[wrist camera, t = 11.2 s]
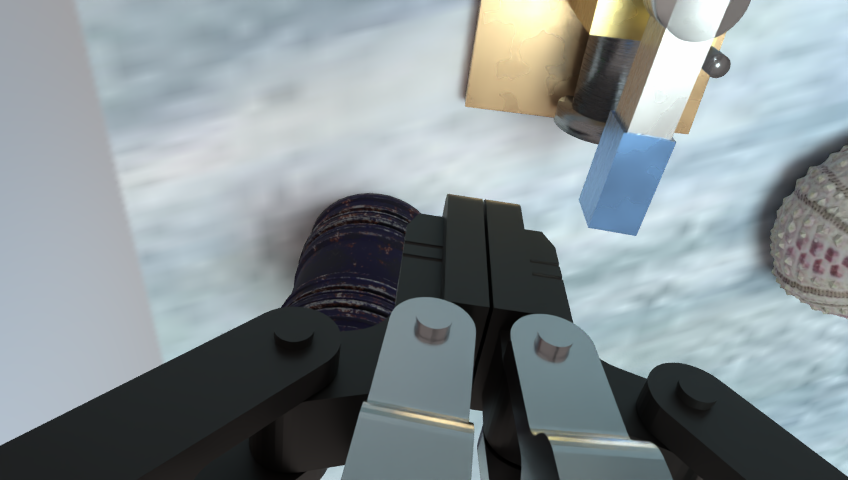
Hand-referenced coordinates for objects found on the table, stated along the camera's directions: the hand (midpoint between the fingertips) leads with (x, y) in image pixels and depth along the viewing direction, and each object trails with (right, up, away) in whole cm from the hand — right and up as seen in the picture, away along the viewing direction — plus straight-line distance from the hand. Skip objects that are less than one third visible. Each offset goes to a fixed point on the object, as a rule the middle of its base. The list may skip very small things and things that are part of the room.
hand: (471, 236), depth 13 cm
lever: (+9, +7, +16) cm, 20 cm away
